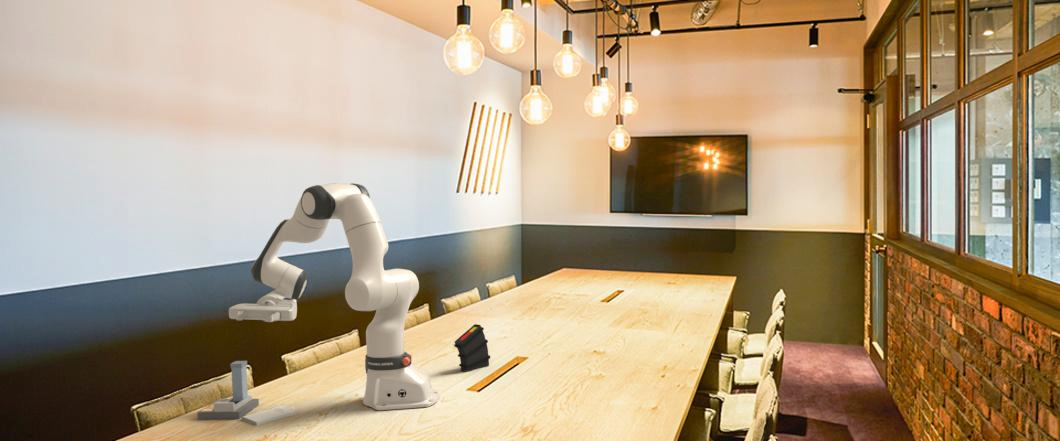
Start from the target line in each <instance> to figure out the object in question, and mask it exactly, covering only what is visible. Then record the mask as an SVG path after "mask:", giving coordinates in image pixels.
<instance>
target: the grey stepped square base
mask: <svg viewBox="0 0 1060 441" xmlns="http://www.w3.org/2000/svg"><path fill="white" fill-rule="evenodd" d="M259 400H260V399H259V398H253V395H248V397H246V398H245V399H243V400H242V401H239V402H233V396H231V397H230V398H219V399H217V400H216V401H214V402H212V403H210V404H208V405H206V407H204V408H202V409H200V410H199V411H197V413H196V414H197V420H241V419H242V417H243V416H246V415H247V414H249V413H250V412H252V411H253V410H254V409H255V408H257V407H259V405H260V403H259ZM248 412H249V413H248Z"/></svg>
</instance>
